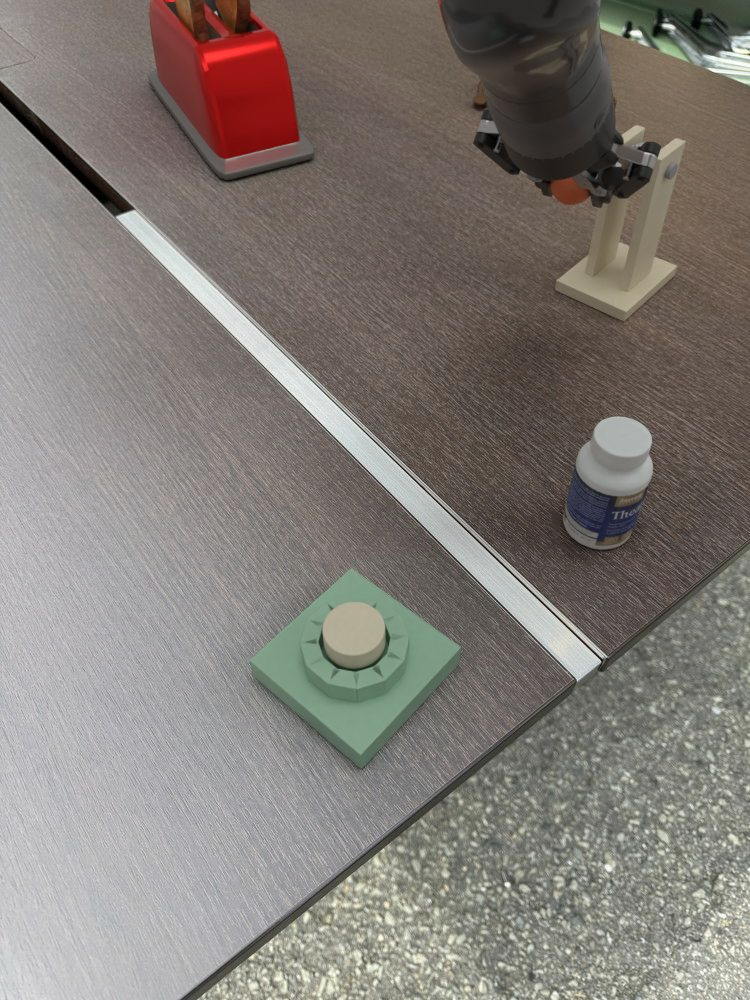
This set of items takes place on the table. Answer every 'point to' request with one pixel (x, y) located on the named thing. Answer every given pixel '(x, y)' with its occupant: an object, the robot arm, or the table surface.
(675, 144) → the bracket
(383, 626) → the button
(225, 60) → the toaster
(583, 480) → the pill bottle
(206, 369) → the table surface
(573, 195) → the lever
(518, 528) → the table surface
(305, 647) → the button block
